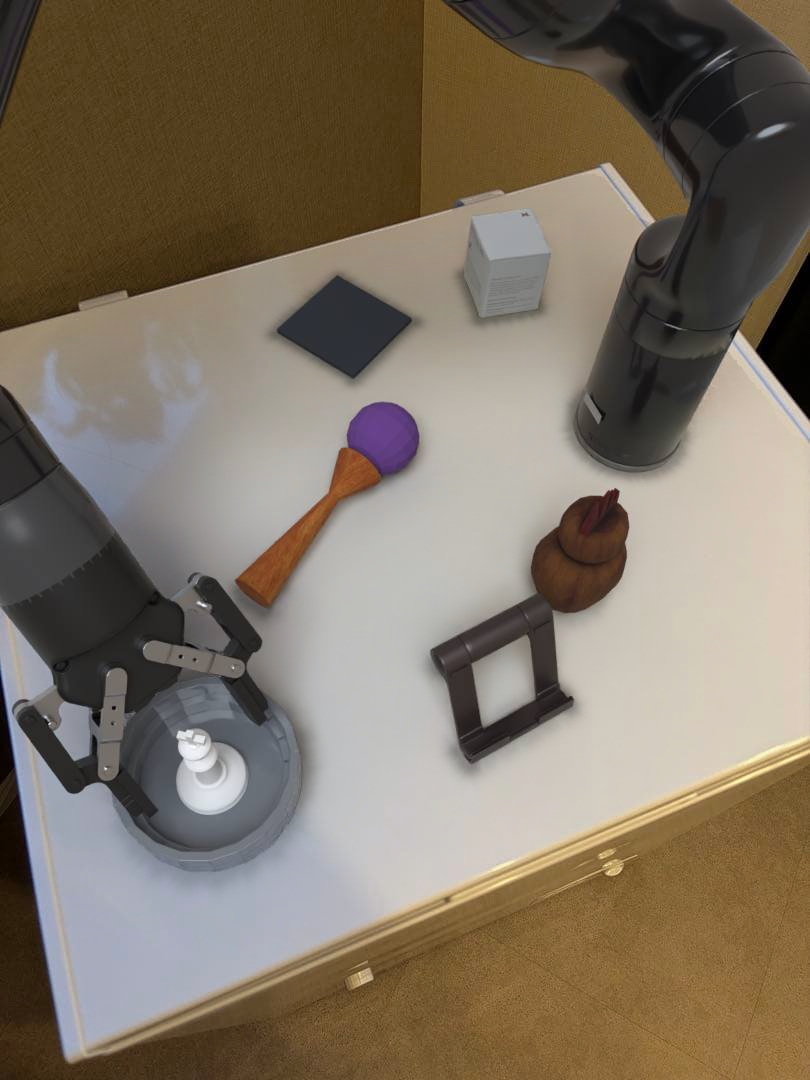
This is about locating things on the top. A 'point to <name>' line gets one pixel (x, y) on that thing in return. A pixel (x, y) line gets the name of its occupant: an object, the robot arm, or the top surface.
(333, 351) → the mat
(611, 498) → the brown gourd
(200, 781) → the chess piece
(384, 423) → the kendama
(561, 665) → the top surface
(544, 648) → the tablet stand
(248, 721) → the basin
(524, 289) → the product box
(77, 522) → the robot arm
